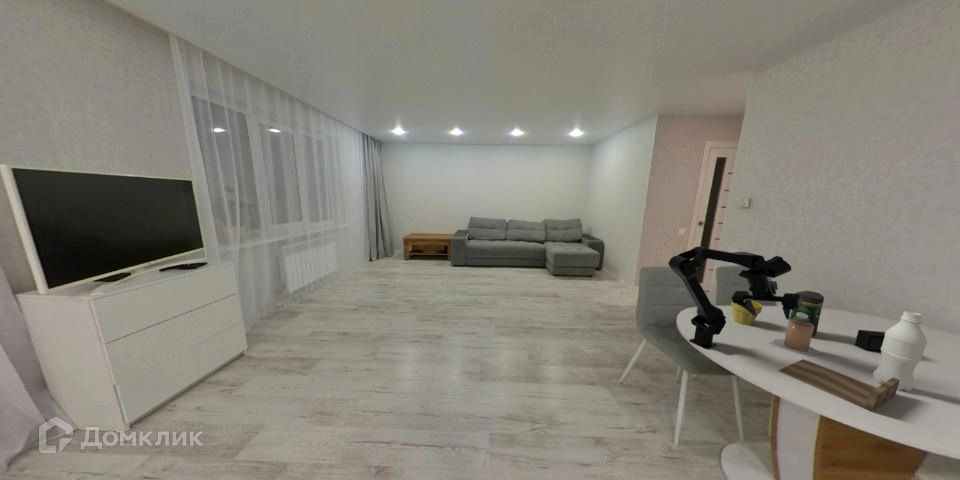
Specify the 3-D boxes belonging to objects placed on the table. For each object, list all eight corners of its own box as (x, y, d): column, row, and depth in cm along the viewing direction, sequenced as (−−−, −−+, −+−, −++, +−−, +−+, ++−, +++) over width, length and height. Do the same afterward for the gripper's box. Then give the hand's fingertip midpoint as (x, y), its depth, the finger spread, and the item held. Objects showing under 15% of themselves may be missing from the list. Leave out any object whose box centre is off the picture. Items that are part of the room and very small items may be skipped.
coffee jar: (792, 326, 128) (801, 287, 125) (818, 334, 121) (828, 293, 118) (783, 330, 124) (791, 290, 121) (809, 338, 117) (819, 297, 114)
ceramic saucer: (810, 361, 101) (811, 358, 101) (766, 344, 112) (767, 342, 112) (825, 354, 106) (826, 352, 105) (782, 339, 117) (782, 336, 116)
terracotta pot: (812, 353, 104) (818, 327, 103) (788, 348, 107) (794, 323, 106) (802, 345, 110) (808, 320, 108) (780, 341, 113) (785, 317, 111)
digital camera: (869, 352, 108) (873, 336, 106) (854, 345, 113) (858, 329, 112) (904, 356, 105) (909, 339, 104) (887, 348, 110) (892, 332, 109)
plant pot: (764, 328, 126) (768, 308, 124) (738, 325, 128) (741, 305, 126) (747, 318, 136) (751, 299, 134) (723, 316, 138) (726, 297, 136)
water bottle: (864, 379, 91) (884, 308, 87) (883, 379, 92) (904, 307, 88) (898, 395, 84) (922, 318, 80) (918, 394, 85) (943, 318, 81)
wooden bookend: (871, 415, 77) (876, 395, 76) (776, 373, 94) (780, 357, 93) (894, 397, 83) (900, 379, 82) (802, 361, 101) (806, 346, 100)
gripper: (799, 272, 102) (812, 308, 104) (735, 272, 119) (747, 303, 121) (791, 288, 97) (804, 326, 99) (725, 285, 114) (738, 318, 116)
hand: (771, 317), depth 109 cm, fingers open, 9 cm apart
